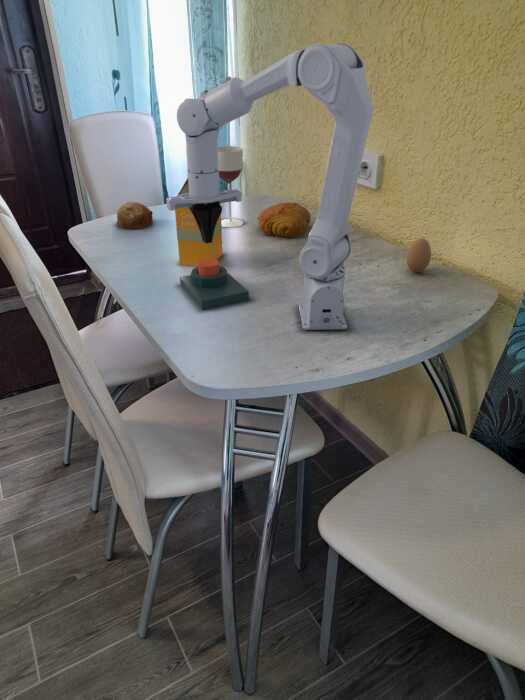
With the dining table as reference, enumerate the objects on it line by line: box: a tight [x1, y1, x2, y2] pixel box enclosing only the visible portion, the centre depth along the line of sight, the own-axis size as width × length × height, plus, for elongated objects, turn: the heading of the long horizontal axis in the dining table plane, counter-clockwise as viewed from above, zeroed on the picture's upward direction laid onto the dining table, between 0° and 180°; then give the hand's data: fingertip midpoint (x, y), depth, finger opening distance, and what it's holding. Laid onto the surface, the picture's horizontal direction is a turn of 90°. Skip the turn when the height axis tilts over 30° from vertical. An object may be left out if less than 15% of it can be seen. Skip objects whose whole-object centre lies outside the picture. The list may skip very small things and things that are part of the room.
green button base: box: [179, 265, 250, 311], centre depth 103 cm, size 13×10×4 cm
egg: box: [405, 237, 432, 274], centre depth 112 cm, size 5×5×8 cm
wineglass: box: [218, 145, 244, 228], centre depth 139 cm, size 8×9×20 cm
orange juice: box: [174, 177, 224, 267], centre depth 115 cm, size 8×9×20 cm
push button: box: [197, 259, 221, 276], centre depth 103 cm, size 4×4×2 cm
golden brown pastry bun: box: [257, 201, 312, 238], centre depth 138 cm, size 14×16×8 cm
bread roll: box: [116, 201, 154, 230], centre depth 142 cm, size 10×10×8 cm
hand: (207, 241), depth 100 cm, fingers closed
